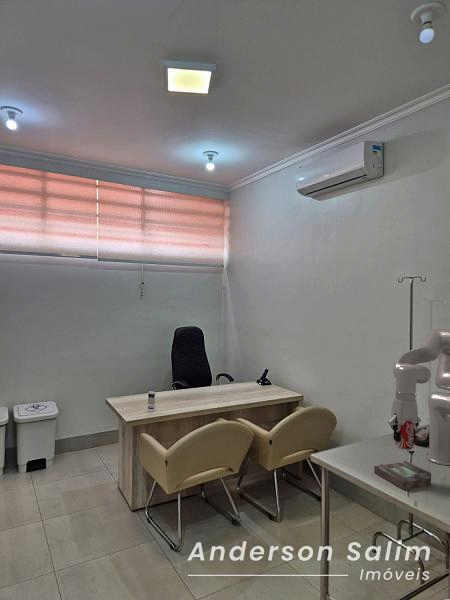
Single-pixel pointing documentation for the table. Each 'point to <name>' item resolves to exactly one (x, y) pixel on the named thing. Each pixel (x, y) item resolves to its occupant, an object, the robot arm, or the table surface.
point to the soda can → (406, 436)
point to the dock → (404, 475)
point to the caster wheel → (422, 437)
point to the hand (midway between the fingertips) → (404, 439)
